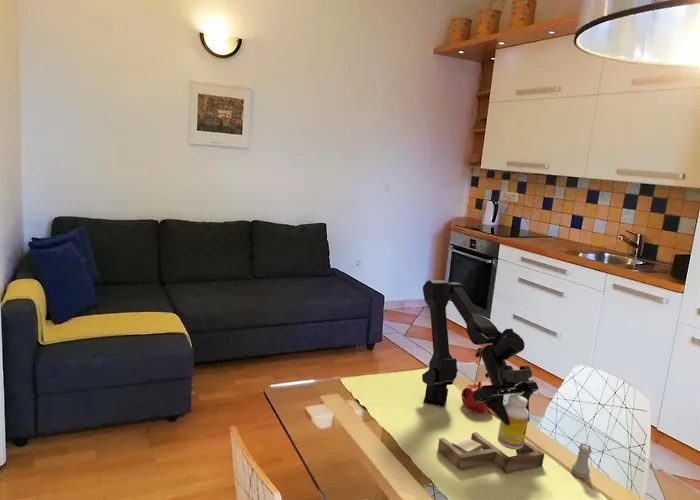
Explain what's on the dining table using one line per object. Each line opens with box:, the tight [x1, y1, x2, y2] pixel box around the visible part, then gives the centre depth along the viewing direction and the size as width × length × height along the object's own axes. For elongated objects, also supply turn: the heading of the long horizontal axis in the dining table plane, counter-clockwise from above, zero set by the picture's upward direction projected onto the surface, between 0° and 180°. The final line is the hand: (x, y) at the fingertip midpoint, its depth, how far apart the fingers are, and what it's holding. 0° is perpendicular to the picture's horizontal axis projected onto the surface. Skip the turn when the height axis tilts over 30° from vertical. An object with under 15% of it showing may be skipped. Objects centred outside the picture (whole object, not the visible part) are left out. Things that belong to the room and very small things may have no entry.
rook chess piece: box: [570, 442, 593, 480], centre depth 134 cm, size 4×4×8 cm
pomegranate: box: [461, 380, 491, 413], centre depth 166 cm, size 10×10×9 cm
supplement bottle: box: [497, 394, 530, 451], centre depth 137 cm, size 7×7×13 cm
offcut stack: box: [451, 436, 484, 454], centre depth 137 cm, size 6×7×4 cm
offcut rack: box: [437, 432, 545, 475], centre depth 137 cm, size 14×24×4 cm, turn 116°
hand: (518, 423), depth 136 cm, fingers closed on supplement bottle, 7 cm apart
